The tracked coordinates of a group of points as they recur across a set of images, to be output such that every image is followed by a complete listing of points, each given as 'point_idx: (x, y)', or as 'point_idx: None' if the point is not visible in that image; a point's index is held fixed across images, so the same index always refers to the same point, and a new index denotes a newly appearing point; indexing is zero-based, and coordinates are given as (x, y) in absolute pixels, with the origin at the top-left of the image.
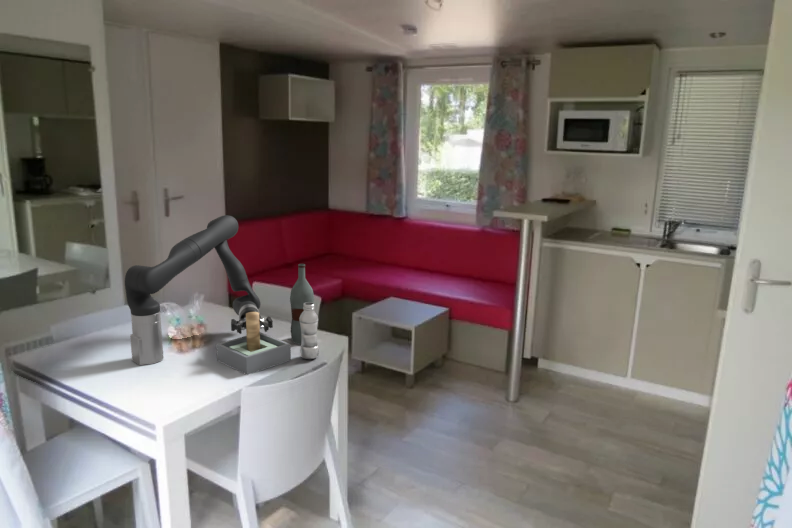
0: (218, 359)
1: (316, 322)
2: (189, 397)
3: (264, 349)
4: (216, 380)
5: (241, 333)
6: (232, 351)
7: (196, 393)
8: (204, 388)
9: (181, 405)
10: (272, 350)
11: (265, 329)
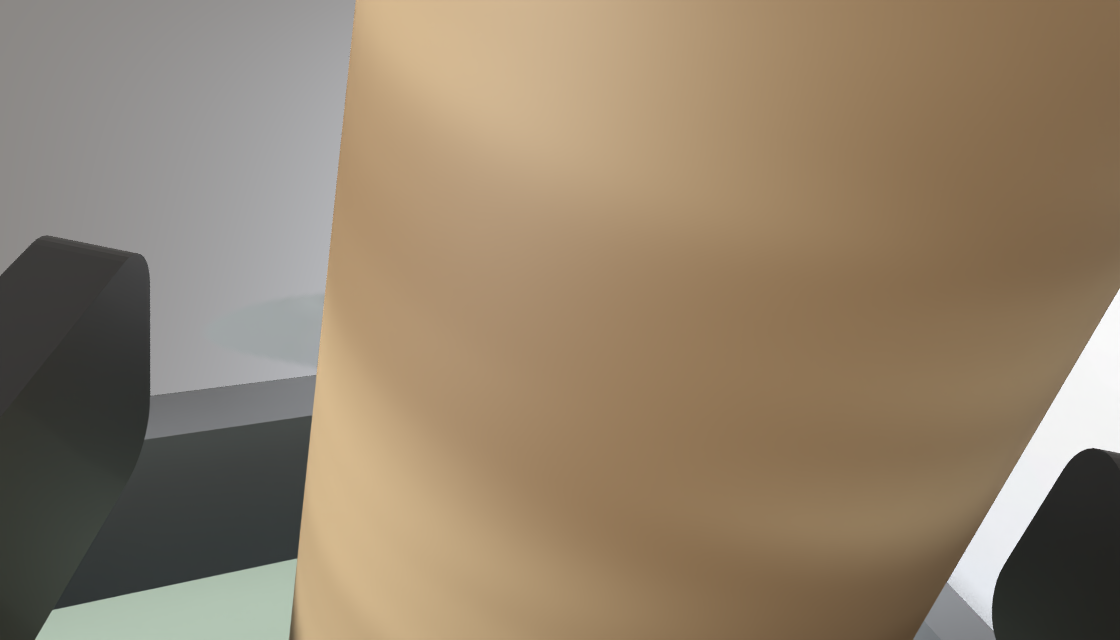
0: None
1: None
2: (1116, 375)
3: (259, 632)
4: (992, 554)
5: (995, 591)
6: (988, 626)
7: (1088, 404)
8: (1055, 451)
9: (1116, 313)
10: (176, 408)
11: (126, 352)
